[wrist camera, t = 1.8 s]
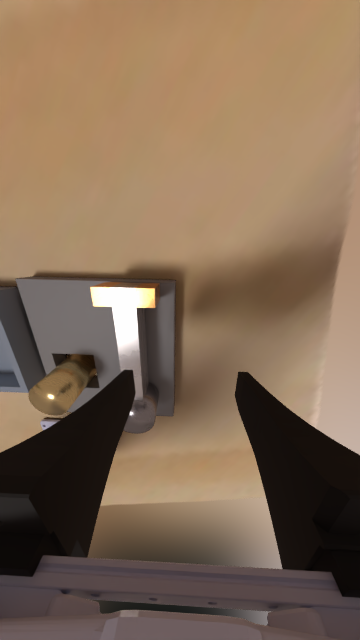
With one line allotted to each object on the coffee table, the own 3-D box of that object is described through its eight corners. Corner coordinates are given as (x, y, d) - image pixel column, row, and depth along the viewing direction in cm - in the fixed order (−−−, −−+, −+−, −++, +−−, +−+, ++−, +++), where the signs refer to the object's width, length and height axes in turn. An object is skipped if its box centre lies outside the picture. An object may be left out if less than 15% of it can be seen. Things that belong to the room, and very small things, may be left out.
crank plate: (174, 404, 25) (173, 416, 23) (67, 399, 25) (58, 411, 23) (175, 280, 18) (174, 282, 16) (32, 276, 19) (15, 278, 17)
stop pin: (102, 374, 23) (73, 416, 17) (74, 373, 23) (35, 414, 17) (98, 349, 22) (64, 385, 16) (68, 348, 22) (23, 383, 16)
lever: (162, 408, 22) (158, 434, 19) (123, 406, 22) (112, 432, 19) (159, 283, 16) (153, 289, 13) (106, 281, 16) (86, 288, 13)
